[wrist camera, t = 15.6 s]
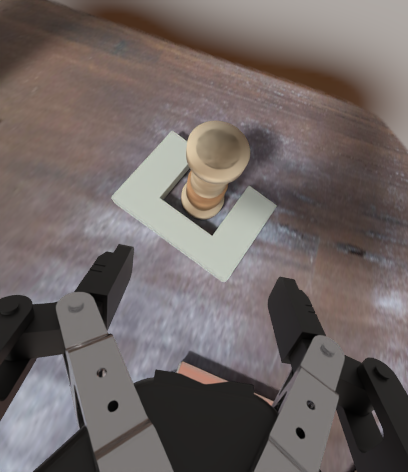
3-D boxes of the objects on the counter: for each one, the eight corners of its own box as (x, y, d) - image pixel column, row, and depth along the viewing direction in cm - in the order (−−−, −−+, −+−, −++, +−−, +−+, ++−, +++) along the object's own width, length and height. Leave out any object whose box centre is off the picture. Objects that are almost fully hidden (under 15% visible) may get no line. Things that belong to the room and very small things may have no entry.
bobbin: (172, 202, 32) (173, 152, 21) (197, 172, 34) (211, 109, 22) (207, 227, 32) (227, 191, 20) (230, 196, 33) (261, 145, 22)
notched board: (114, 203, 31) (111, 197, 29) (171, 139, 34) (172, 130, 32) (222, 282, 31) (226, 281, 29) (270, 210, 34) (277, 205, 32)
